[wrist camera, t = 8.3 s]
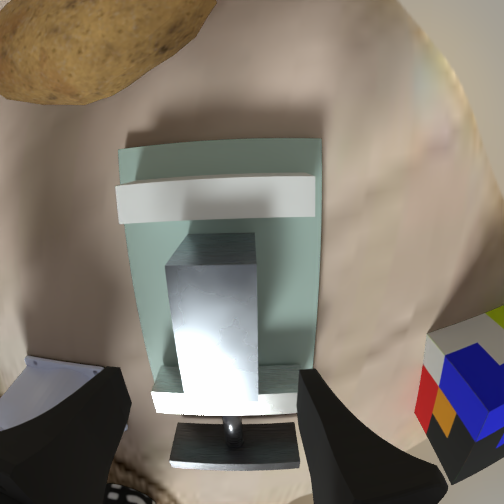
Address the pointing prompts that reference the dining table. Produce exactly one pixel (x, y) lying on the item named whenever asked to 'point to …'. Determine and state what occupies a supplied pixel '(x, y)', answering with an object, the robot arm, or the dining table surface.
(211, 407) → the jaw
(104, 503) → the white-spotted black cylinder
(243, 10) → the dining table surface
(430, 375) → the puzzle toy
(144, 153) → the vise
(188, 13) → the potato
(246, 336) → the steel block
